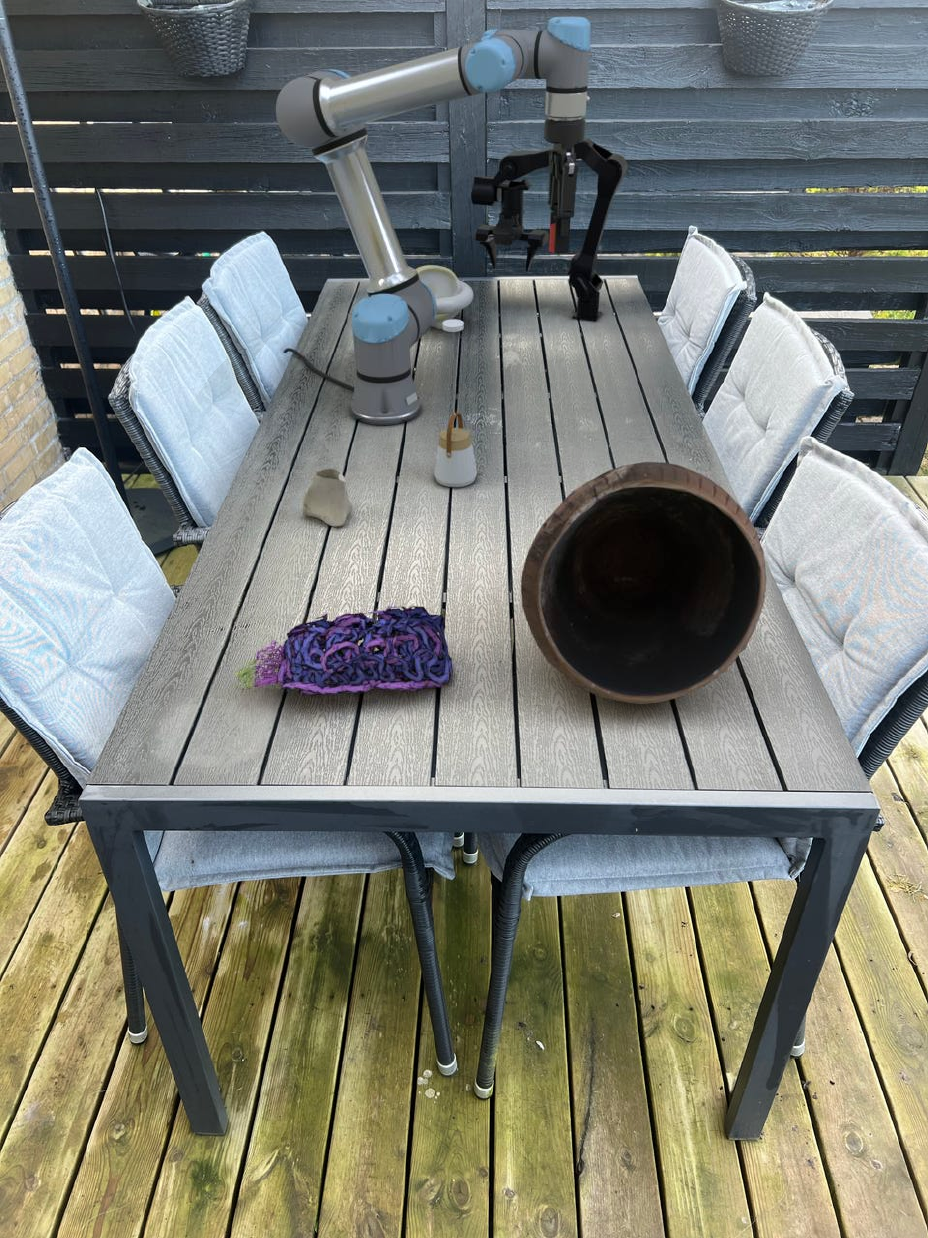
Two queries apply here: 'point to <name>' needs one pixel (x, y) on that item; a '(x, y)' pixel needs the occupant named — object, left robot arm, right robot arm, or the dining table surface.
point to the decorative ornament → (358, 654)
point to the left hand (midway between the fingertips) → (558, 249)
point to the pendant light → (455, 442)
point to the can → (552, 238)
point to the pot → (644, 583)
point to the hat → (445, 292)
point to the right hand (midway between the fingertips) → (510, 269)
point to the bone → (327, 498)
